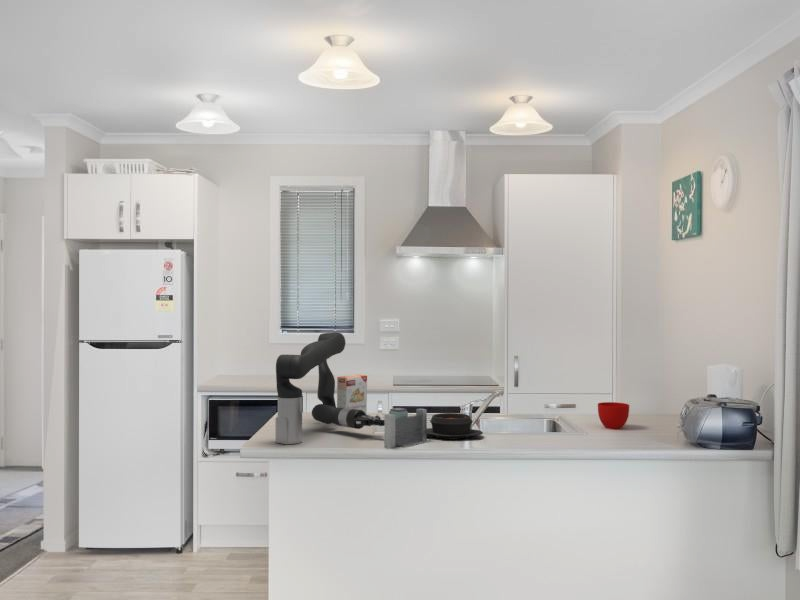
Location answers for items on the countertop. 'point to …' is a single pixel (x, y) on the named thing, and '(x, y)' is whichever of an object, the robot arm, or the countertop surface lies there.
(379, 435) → the countertop surface
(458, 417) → the casserole
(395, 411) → the block
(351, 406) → the cracker box
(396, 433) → the grey wall block
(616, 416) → the ceramic cup
